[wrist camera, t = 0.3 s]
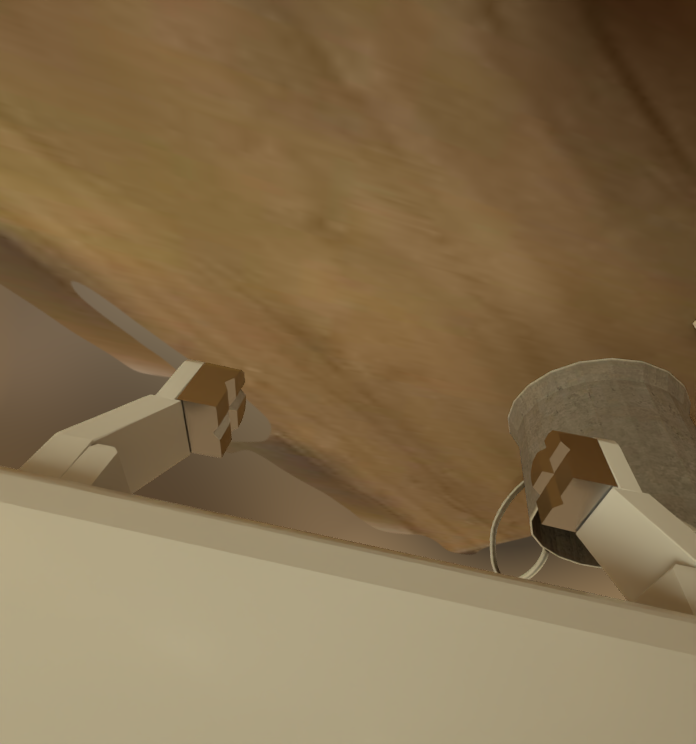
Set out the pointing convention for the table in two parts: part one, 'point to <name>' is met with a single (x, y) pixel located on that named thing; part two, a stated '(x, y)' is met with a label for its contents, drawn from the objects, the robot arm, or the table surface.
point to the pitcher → (612, 422)
